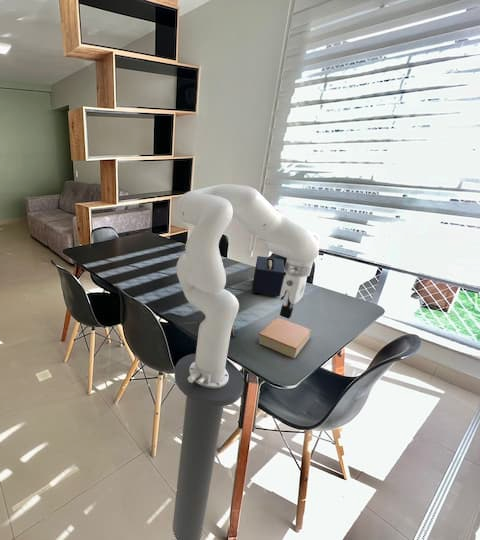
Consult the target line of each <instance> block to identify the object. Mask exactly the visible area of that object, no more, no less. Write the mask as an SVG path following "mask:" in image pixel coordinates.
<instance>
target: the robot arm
mask: <svg viewBox="0 0 480 540" xmlns="http://www.w3.org/2000/svg"><path fill="white" fill-rule="evenodd" d="M175 211H176V215H177V216H178V218H179V219H180V220H181V221H183V222H184V223H187V224H189V225H193V226H194V227H193V229H192V230H191V233H190V234H189V236H188V237H187V240H186V243H185V246H184V247H185V248H184V249H185V250H184V251H185V252H184V253H182V254H181V255H180V257H179V258H178V260H177V262H176V268H175V272H176V276H177V279H178V281H179V284H180V286H181V290H182V292H183V295H184V297H185V299H186V300H187V301H188V303H189V304H190V305H191V306H194V308H196V309H197V310H199V311H200V312H201V313H203V315H204V316H205V318H204V320H202V321H201V322H200V323H199V326H198V331H197V341H196V350H195V354H196V358H195V362H193V363H192V364H191V366H190V368H189V374H190V376H189V377H188V381H189V382H190V383H192V382H193V381H195V382H196V383H198V384H199V385H201V386H204V387H207V388H220V387H223V386H225V385H226V384H227V382H228V379H229V375H228V372H227V370H226V369H225V365H226V360H227V358H228V352H229V348H230V347H229V346H230V340H231V336H230V335H231V329H232V326H234V322H235V319H236V317H237V315H238V313H239V310H240V303H239V300H238V298H237V297H236V296H235V295H234V294H233V293H232V292H230V291H229V290H227V289H225V287H226V283H227V275H226V270H225V267H224V263H223V259H222V256H221V252H220V248H219V247H220V246H219V245H220V241H221V238H222V236H223V234H224V233H225V231H226V229H228V227H229V225H230V224H231V222H232V219H233V218H234V219H236V220H237V221H238V222H239V223H240V224H241V225H243V226H244V227H245V228H246V229H247V230H248V231H249V232H250V233H251V234H253V236H256V237H257V238H260V239H262V240H264V241H266V247H267V250H269V252H270V253H272V254H273V255H276V256H280V257H283V258H286V261H285V263H284V271H285V275H284V279H283V284H282V288H281V292H280V296H279V300H280V301H282V303H281V308H280V312H279V316H280V317H282V318H285V319H287V320H289V319H290V318H291V317H292V314H293V310H294V306H295V304H297V303H298V302H299V301H300V300H301V299H303V296H304V293H305V289H306V284H307V280H308V277H309V276H310V275H311V271H312V267H313V265H314V260H315V259H316V258H317V257H318V254H319V252H320V245H319V243H320V240H321V239H320V235H319V234H318V233H316V232H312V231H310V230H308V229H307V228H305V227H304V226H302V225H300V224H298V223H297V222H295V221H294V220H292V219H290V218H288V217H287V216H285V215H283V214H281V213H279V211H277V210H276V209H275V208H274V206H272V205H271V203H270V202H269V201H268V200H267V199H266V198H265V197H264V196H263V195H262V194H261V193H260V192H259V191H258V190H257V189H255V188H254V187H253V186H249V185H242V184H233V183H221V184H215V185H212V186H207V187H202V188H199V189H193V190H190V191H186V192H185V193H183V194H182V195H181V196H180V197H179V198H178V200H177V203H176V206H175Z"/></svg>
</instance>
